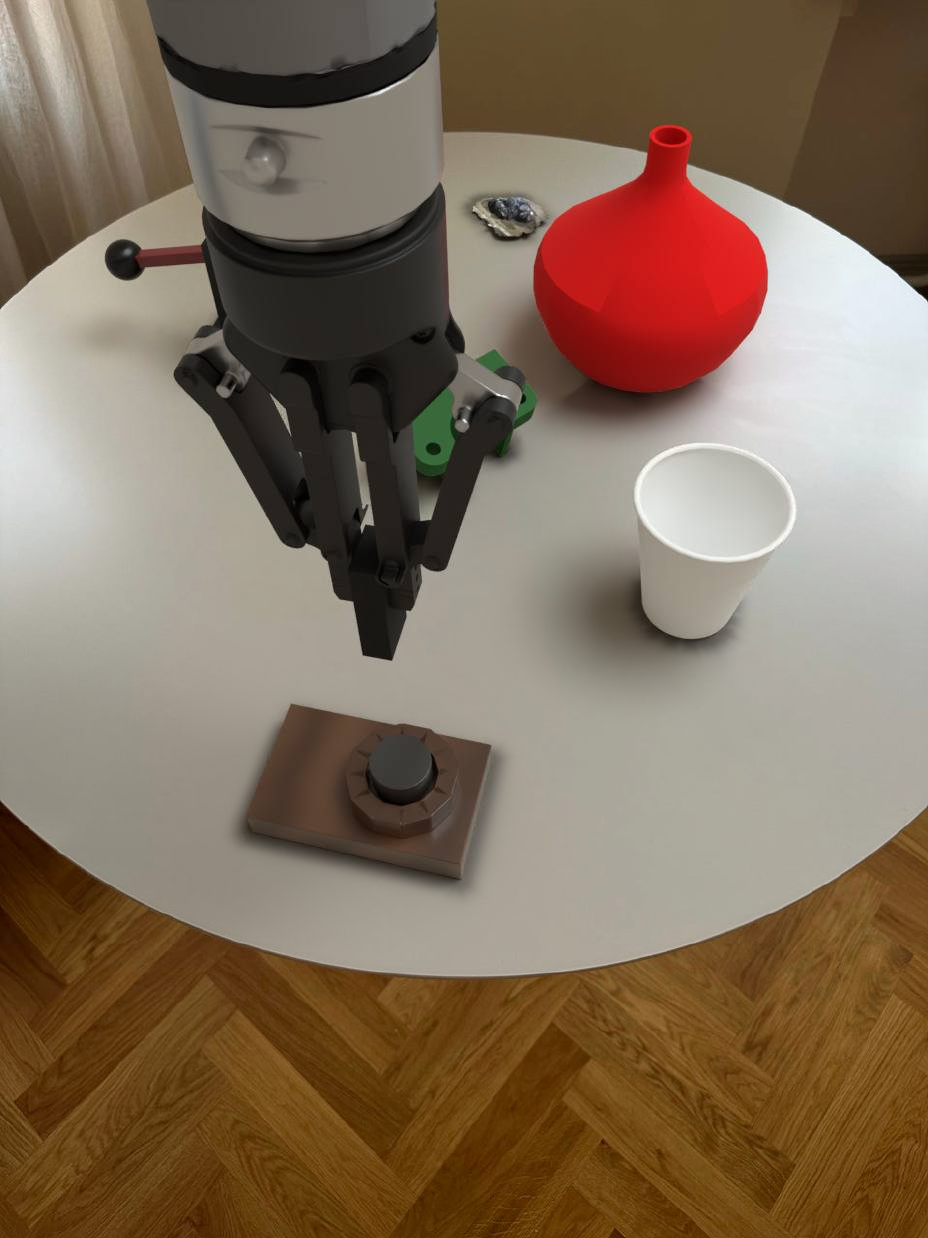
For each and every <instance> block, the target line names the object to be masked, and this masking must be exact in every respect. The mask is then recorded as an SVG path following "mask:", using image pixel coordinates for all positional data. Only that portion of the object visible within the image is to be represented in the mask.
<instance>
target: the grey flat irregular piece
mask: <svg viewBox="0 0 928 1238" xmlns="http://www.w3.org/2000/svg"><path fill="white" fill-rule="evenodd" d="M471 211H472V212H475V213H476V214H477V216H478V218H479V217H480V218H481V220H483V221H485V220H487V225H488V226H489V227H492V228H493V231H494V234H497V235H498V236H499V237H505V238H508V237H510V238H511V237H521V236H522V235H523V233H524V234H531V233H532V232H533V231H534V230H535V227H537V228H539V227H540V225H541V222H543V221H547V220H548V219H551V217H550V215H549V214H546V213H547V211H546V210H545V209H544V207H542V206H541V205H540V204H537V203H536V202H533V201H532V200H531V199H528V198H524V197H520V196H507V197H504V198H503V197H484V198H482V199H479V201H477V202H475V205H473V206H472V210H471Z"/></svg>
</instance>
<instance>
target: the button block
mask: <svg viewBox="0 0 928 1238" xmlns="http://www.w3.org/2000/svg"><path fill="white" fill-rule="evenodd" d="M400 734H404V735H410V736H413V737H416V738H418V739H419V740H421V741H422V742H423V743H424V744H425V745H426V746H427V747H428V749H429V751H430V753H431V757H432V770H433V778H432V782H431V785H430V787H429V789H428V790H427V791H426V792H425V793H424V794H423V795H422V796H421V797H419V798H418V799H416V800H414V801H411V802H407V803H395V802H391V801H388V800H386V799H384V798H383V797H381V796H380V795H379V794H378V793H377V792H376V790H375V789H374V787H373V784H372V780H371V774H370V768H369V759H370V755H371V753H372V751H373V749H374V748H375V746H376V745H377V744H378V743H379V742H381V741H382V740H384V739H385V738H387V737H390V736H393V735H400ZM491 764H492V744H489V743H486V742H485V743H484V742H479V741H476V740H470V739H466V738H461V737H455V736H451V735H446V734H441V733H436V732H435V731H434V730H432V729H431V728H428V727H423V726H418V725H414V724H408V723H401V722H400V723H398V724H393V723H387V722H382V721H378V720H373V719H368V718H364V717H358V716H354V715H348V714H344V713H339V712H334V711H330V710H329V711H328V710H324V709H320V708H315V707H309V706H305V705H299V704H295V703H290V705H289V707H288V710H287V712H286V715H285V717H284V720H283V723H282V725H281V728H280V731H279V732H278V735H277V738H276V740H275V743H274V745H273V748H272V750H271V753H270V755H269V758H268V761H267V763H266V766H265V768H264V769H263V774H262V776H261V778H260V780H259V783H258V785H257V788H256V791H255V793H254V795H253V799H252V800H251V803H250V806H249V809H248V811H247V814H246V819H247V821H248V824H249V827H250V829H251V832H252V833H255V834H259V835H265V836H268V837H272V838H273V837H274V838H277V839H281V840H286V841H291V842H295V843H298V844H303V845H308V846H312V847H316V848H321V849H325V850H330V851H335V852H339V853H343V854H346V855H347V854H348V855H352V856H356V857H360V858H366V859H370V860H375V861H379V862H383V863H387V864H392V865H396V866H401V867H404V868H405V867H406V868H410V869H414V870H419V871H421V872H427V873H431V874H436V875H440V876H445V877H449V878H454V879H458V880H462V878H463V875H464V870H465V866H466V862H467V859H468V856H469V855H468V854H469V851H470V846H471V843H472V839H473V835H474V832H475V827H476V823H477V820H478V815H479V812H480V807H481V804H482V801H483V795H484V792H485V788H486V785H487V780H488V777H489V773H490V768H491Z"/></svg>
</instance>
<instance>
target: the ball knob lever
mask: <svg viewBox="0 0 928 1238" xmlns="http://www.w3.org/2000/svg"><path fill="white" fill-rule="evenodd" d="M104 264H105V266H106V269H107V270H108V272H109V273H110V274H111V276H113V277H114V278H116V279H117V280H121V281H125V282H127V281H128V282H129V281H134V280H137V279H138V278H140V277H141V276H142V275H143V273H144V272H145V270H146V269H147V268H158V267H171V266H184V265H196V264H197V265H198V264H205V261H204V257H203V253H202V249H201V244H194V245H193V244H192V245H181V246H169V247H158V248H145V249H143V248H141V246H139V244H138V243H136V242H135V241H133V240H131V239H126V238H120V239H116V240H114V241H112V242H110V244H109V245H108V246H107V248H106V250H105V252H104Z"/></svg>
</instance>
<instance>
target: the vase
mask: <svg viewBox="0 0 928 1238" xmlns="http://www.w3.org/2000/svg"><path fill="white" fill-rule="evenodd" d="M692 140H693V135H692V133H691V132H690V131H689V130H688V129H687V128H685V127H682V126H679V125H672V124H666V125H665V124H664V125H660V126H657V127H655V128H653V129H652V130H651V131H650V132H649V139H648V147H647V153H646V159H645V165H644V168H643V172H641V174H639V175H638V176H637V177H636V178H635V179H633V180H631V181H629V182H627V183H625V184H622V185H621V186H617V187H616V188H613V189H612V190H609V191H607V192H604V193H601V194H599V195H596V196H593V197H591V198H589V199H586V200H584V201H582V202H579V203H577V204H575V205H572V206H571V207H569V208H568V209H567V210H565V211H564V212H563V213H562V214H560V215H559V216H558V217H556V218H555V219H554V221H553V222H552V223H551V225H550V226H549V228H548V229H547V230H546V232H545V233H544V235H543V237H542V239H541V240H540V243H539V245H538V247H537V251H536V254H535V259H534V262H533V274H532V279H533V280H532V289H533V296H534V301H535V306H536V309H537V311H538V314H539V316H540V318H541V320H542V323H543V325H544V328H545V329H546V332H547V334H548V337H549V338H550V339H551V341H552V343H553V344H554V346H555V347H556V349H557V351H558V352H559V353H560V354H561V355H562V356H563V357H564V358H565V359H566V360H567V361H569V363H570V364H571V365H573V367H575V368H576V369H577V370H578V371H579V372H581V374H583V376H585V377H587V378H589V379H591V380H593V381H595V382H597V383H599V384H601V385H603V386H607V387H610V388H613V389H617V390H620V391H626V392H632V393H633V392H634V393H643V394H644V393H645V394H647V393H660V392H667V391H671V390H675V389H680V388H683V387H685V386H687V385H689V384H690V383H693V382H695V381H697V380H699V379H701V378H702V377H704V376H707V375H709V373H712V372H713V371H716V370H717V369H718V368H719V367H720V366H721V365H722V364H723V363H725V361H727V360H728V359H729V358H730V357H731V356H732V355H733V354H734V353H735V351H736V350H737V349H738V348H739V347H740V345H741V344H742V343H743V342H744V341H745V340H746V339H747V337H748V336H749V335H750V334H751V333H752V332H753V330H754V328H755V326H756V324H757V322H758V321H759V318H760V315H761V314H762V311H763V307H764V304H765V300H766V297H767V295H768V291H769V290H768V289H769V268H768V263H767V255H766V253H765V250H764V248H763V245H762V243H761V241H760V239H759V237H758V235H756V234H755V233H754V231H753V230H752V229H751V228H750V226H748V224H747V223H746V222H745V221H743V220H742V219H740V218H739V217H737V216H736V215H735V214H733V213H731V212H730V211H729V210H727V209H726V208H725V207H722V206H721V205H720V204H719V203H716V202H715V201H714V200H712V199H711V198H710V197H709V196H707V195H706V194H705V193H704V192H702V191H701V190H699V189H698V188H697V187H696V186H694V185H693V184H692V182H691V180H690V179H689V178H688V172H687V171H688V169H687V168H688V163H689V157H690V151H691V145H692Z"/></svg>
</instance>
